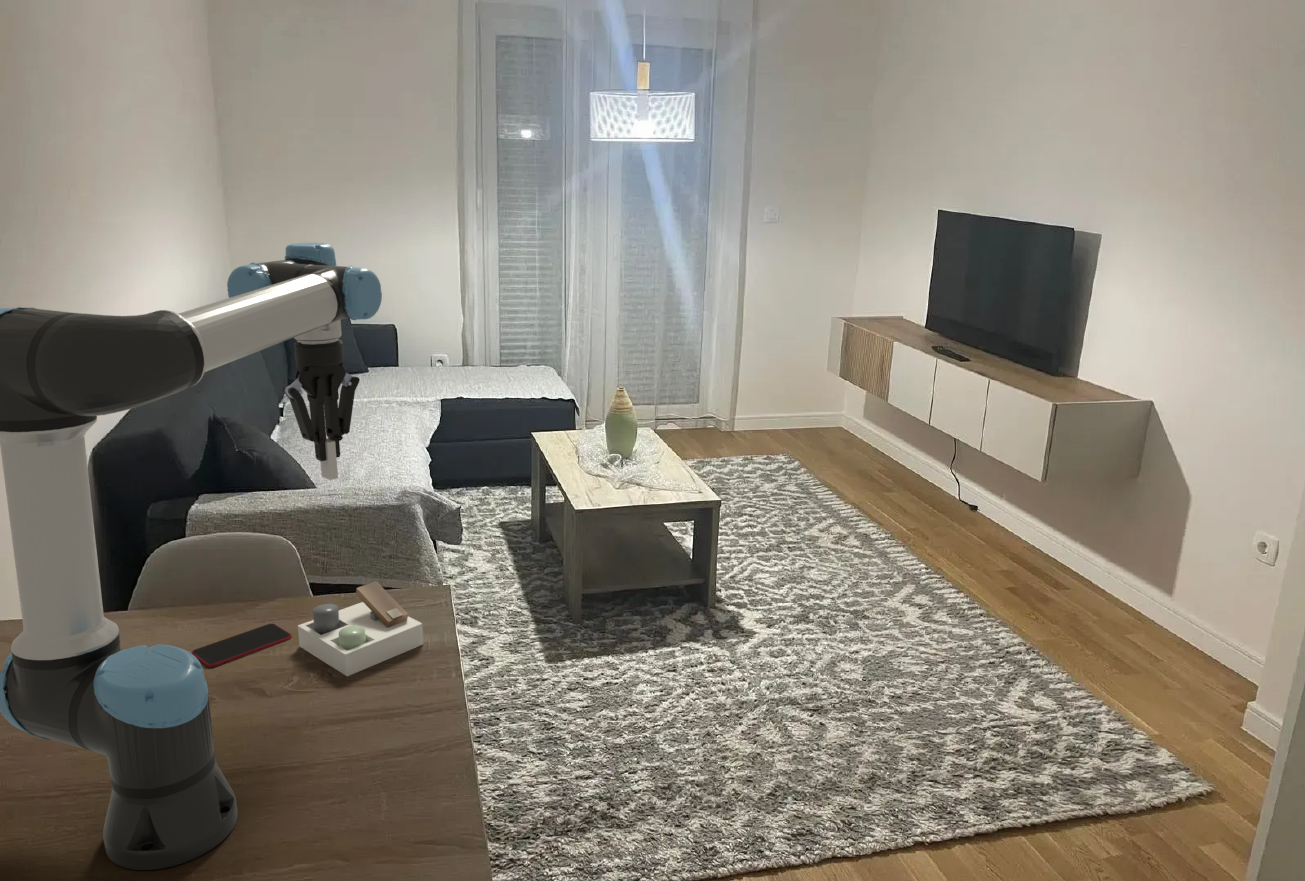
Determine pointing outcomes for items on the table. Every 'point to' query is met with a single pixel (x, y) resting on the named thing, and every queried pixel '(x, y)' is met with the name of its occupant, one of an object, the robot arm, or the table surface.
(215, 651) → the smartphone
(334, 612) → the button graphite
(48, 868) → the table surface
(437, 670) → the table surface
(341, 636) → the button sage
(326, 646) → the panel
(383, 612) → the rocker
